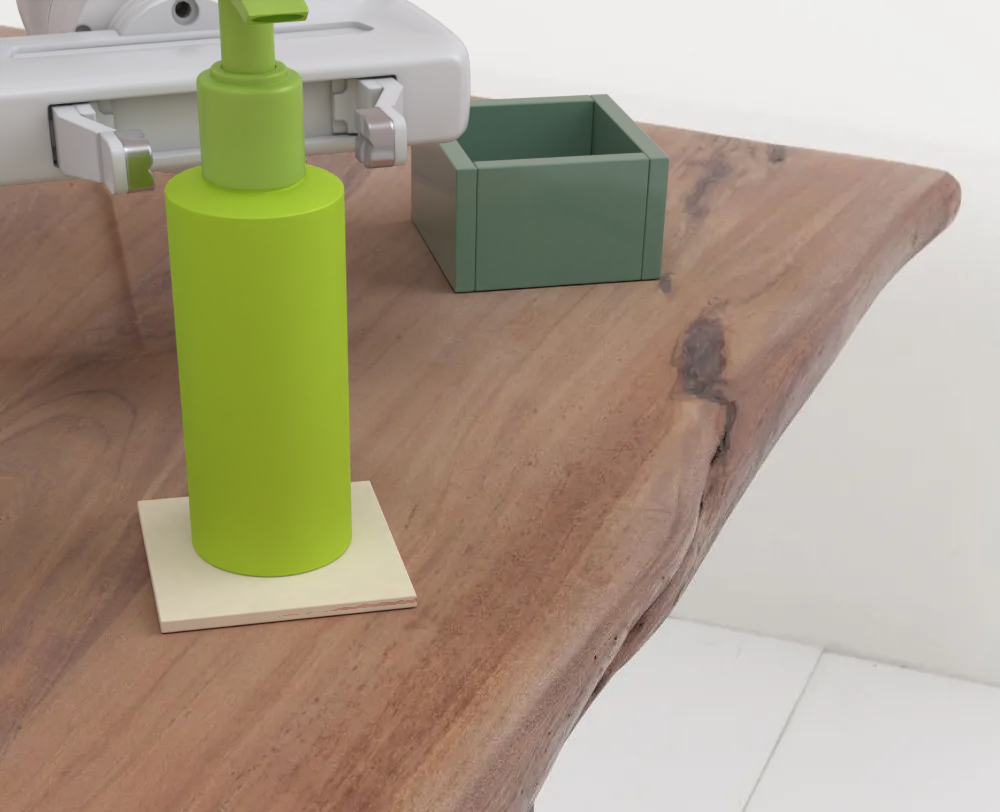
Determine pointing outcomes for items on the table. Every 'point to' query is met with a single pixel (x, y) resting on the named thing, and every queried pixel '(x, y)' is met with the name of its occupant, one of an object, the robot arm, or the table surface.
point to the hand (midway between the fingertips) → (264, 158)
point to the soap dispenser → (261, 315)
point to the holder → (542, 195)
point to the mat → (254, 599)
